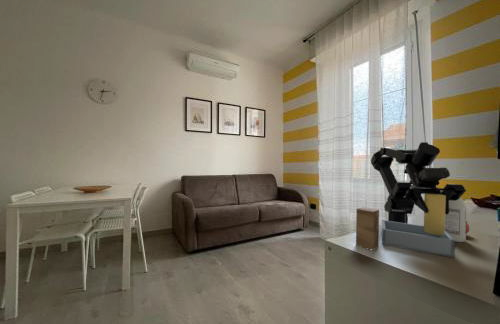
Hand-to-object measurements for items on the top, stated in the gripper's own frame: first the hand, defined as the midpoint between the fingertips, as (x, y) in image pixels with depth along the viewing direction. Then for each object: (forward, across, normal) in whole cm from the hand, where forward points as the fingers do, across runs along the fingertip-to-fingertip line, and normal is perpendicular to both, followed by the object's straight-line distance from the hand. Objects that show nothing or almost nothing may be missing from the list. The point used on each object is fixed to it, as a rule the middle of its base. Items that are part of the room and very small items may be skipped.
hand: (437, 212), depth 64 cm
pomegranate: (-7, +18, +25) cm, 31 cm away
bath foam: (-2, +12, +19) cm, 23 cm away
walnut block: (+10, -20, +7) cm, 23 cm away
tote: (+5, -4, +12) cm, 14 cm away
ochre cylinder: (+4, 0, +6) cm, 7 cm away
